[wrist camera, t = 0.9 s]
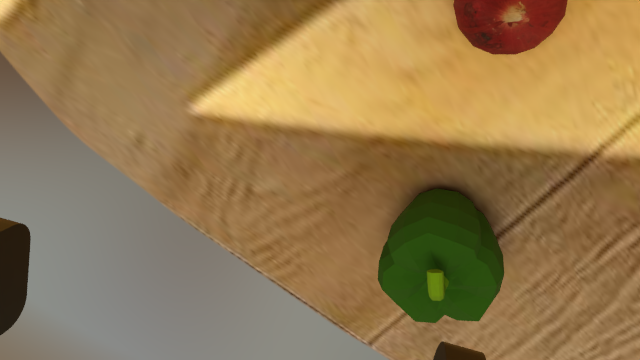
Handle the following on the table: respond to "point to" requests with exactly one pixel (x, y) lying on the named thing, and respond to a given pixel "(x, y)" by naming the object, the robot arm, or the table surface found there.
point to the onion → (508, 23)
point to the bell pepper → (441, 259)
